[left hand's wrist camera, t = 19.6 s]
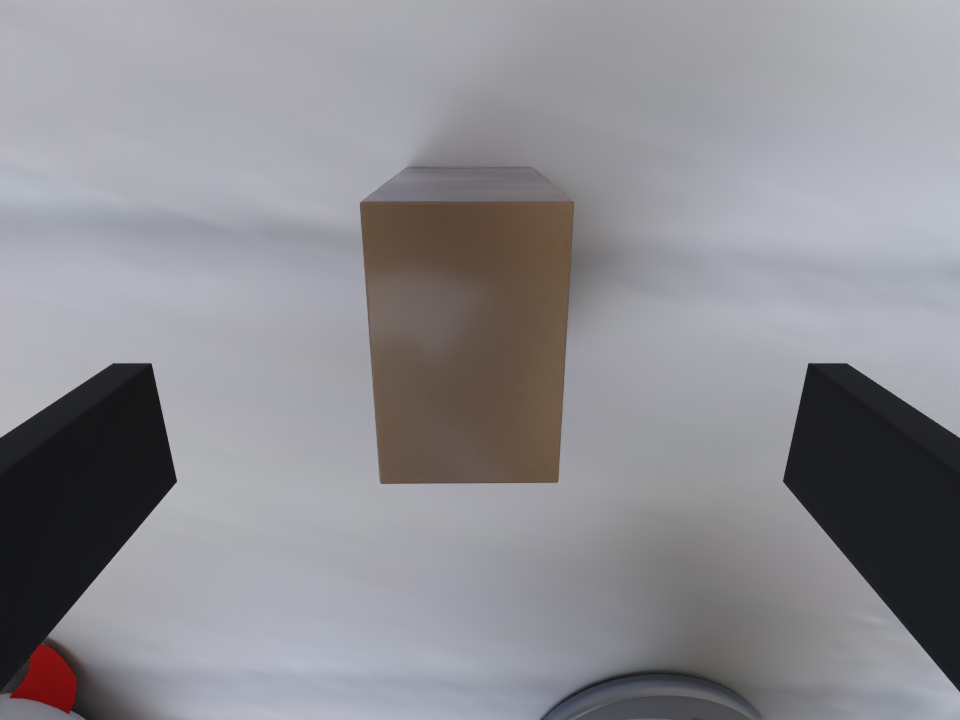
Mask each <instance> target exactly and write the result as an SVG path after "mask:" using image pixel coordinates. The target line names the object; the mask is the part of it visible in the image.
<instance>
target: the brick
mask: <svg viewBox="0 0 960 720" xmlns="http://www.w3.org/2000/svg"><path fill="white" fill-rule="evenodd" d="M360 212H361V226H362V240H363V254H364V268H365V282H366V295H367V309H368V323H369V337H370V351H371V365H372V379H373V392H374V406H375V420H376V434H377V448H378V462H379V476H380V483H381V484H419V483H557V482H558V477H559V460H560V442H561V424H562V407H563V389H564V371H565V354H566V336H567V318H568V300H569V283H570V265H571V247H572V230H573V212H574V202H573V201H572V200H571V199H569V198H568V197H567V196H566V195H565V194H563V193H562V192H561V191H560V190H559V189H557V188H556V187H555V186H554V185H552V184H551V183H550V182H549V181H548V180H546V179H545V178H544V177H543V176H542V175H540V174H539V173H538V172H537V171H535V170H534V169H533V168H531V167H482V168H405V169H404V170H403V171H401V172H400V173H399V174H397V175H396V176H395V177H393V178H392V179H391V180H389V181H388V182H387V183H385V184H384V185H383V186H381V187H380V188H379V189H377V190H376V191H375V192H373V193H372V194H371V195H369V196H368V197H367V198H365V199H364V200H363V201H361V202H360Z"/></svg>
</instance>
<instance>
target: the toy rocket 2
mask: <svg viewBox="0 0 960 720" xmlns="http://www.w3.org/2000/svg"><path fill="white" fill-rule="evenodd" d="M30 659H31V662H30V668H29V670H28V672H27V674H26V676H25V678H24V679H23V681H22V683H21V684H20V685H19V687H18V688H17V689H16V690H15V691H14V692H13V693H5V694H0V720H85V719H84V718H83V717H81V716H80V715H78V714H76V713H74V712H73V711H71V709H72V707H73V704H74V702H75V697H76V687H77V681H76V677H75V674H74V673H73V672H72V670H71V669H70V667H69V666H68V665H67V663H66V662H65V660H64V659H63V657H62V656H61V655H60V654H59V653H57V652H56V651H55V650H53V649H52V648H50V647H47V646H44V645H42V644H40V645H39V646H38V648H37V649H36V650H35V651H34V652H33V653H32V655H31V656H30Z"/></svg>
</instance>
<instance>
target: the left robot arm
mask: <svg viewBox="0 0 960 720" xmlns="http://www.w3.org/2000/svg"><path fill="white" fill-rule="evenodd" d="M176 482H177V479H176V475H175V470H174V465H173V461H172V456H171V451H170V447H169V442H168V437H167V433H166V428H165V424H164V419H163V414H162V410H161V405H160V400H159V396H158V391H157V387H156V382H155V377H154V373H153V368H152V363H113V364H112V365H110V366H109V367H107V368H106V369H104V370H103V371H101V372H99V373H98V374H96V375H95V376H93V377H92V378H90V379H89V380H87V381H86V382H84V383H83V384H81V385H80V386H78V387H77V388H75V389H74V390H72V391H71V392H69V393H68V394H66V395H65V396H63V397H62V398H60V399H59V400H57V401H56V402H54V403H53V404H51V405H50V406H48V407H47V408H45V409H44V410H42V411H40V412H39V413H37V414H36V415H34V416H33V417H31V418H30V419H28V420H27V421H25V422H24V423H22V424H21V425H19V426H18V427H16V428H15V429H13V430H12V431H10V432H9V433H7V434H6V435H4V436H3V437H1V438H0V692H1V690H2V689H3V688H4V687H5V686H6V684H7V683H8V682H9V681H10V680H11V678H12V677H13V676H14V675H15V674H16V673H17V671H18V670H19V669H20V668H21V667H22V665H23V664H24V663H25V662H26V661H27V659H28V658H29V657H30V656H31V655H32V653H33V652H34V651H35V650H36V649H37V648H38V646H39V645H40V644H41V643H42V642H43V640H44V639H45V638H46V637H47V636H48V634H49V633H50V632H51V631H52V630H53V629H54V627H55V626H56V625H57V624H58V623H59V621H60V620H61V619H62V618H63V617H64V615H65V614H66V613H67V612H68V611H69V609H70V608H71V607H72V606H73V605H74V604H75V602H76V601H77V600H78V599H79V598H80V596H81V595H82V594H83V593H84V592H85V590H86V589H87V588H88V587H89V586H90V584H91V583H92V582H93V581H94V580H95V579H96V577H97V576H98V575H99V574H100V573H101V571H102V570H103V569H104V568H105V567H106V565H107V564H108V563H109V562H110V561H111V559H112V558H113V557H114V556H115V555H116V554H117V552H118V551H119V550H120V549H121V548H122V546H123V545H124V544H125V543H126V542H127V540H128V539H129V538H130V537H131V536H132V535H133V533H134V532H135V531H136V530H137V529H138V527H139V526H140V525H141V524H142V523H143V521H144V520H145V519H146V518H147V517H148V515H149V514H150V513H151V512H152V511H153V510H154V508H155V507H156V506H157V505H158V504H159V502H160V501H161V500H162V499H163V498H164V496H165V495H166V494H167V493H168V492H169V490H170V489H171V488H172V487H173V486H174V485H175V483H176ZM783 482H784V483H785V485H786V486H787V487H788V488H789V489H790V490H791V492H792V493H793V494H794V495H795V496H796V498H797V499H798V500H799V501H800V502H801V504H802V505H803V506H804V507H805V508H806V510H807V511H808V512H809V513H810V514H811V515H812V517H813V518H814V519H815V520H816V521H817V523H818V524H819V525H820V526H821V527H822V529H823V530H824V531H825V532H826V533H827V535H828V536H829V537H830V538H831V539H832V540H833V542H834V543H835V544H836V545H837V546H838V548H839V549H840V550H841V551H842V552H843V554H844V555H845V556H846V557H847V558H848V559H849V561H850V562H851V563H852V564H853V565H854V567H855V568H856V569H857V570H858V571H859V573H860V574H861V575H862V576H863V577H864V579H865V580H866V581H867V582H868V583H869V584H870V586H871V587H872V588H873V589H874V590H875V592H876V593H877V594H878V595H879V596H880V598H881V599H882V600H883V601H884V602H885V604H886V605H887V606H888V607H889V608H890V609H891V611H892V612H893V613H894V614H895V615H896V617H897V618H898V619H899V620H900V621H901V623H902V624H903V625H904V626H905V627H906V629H907V630H908V631H909V632H910V633H911V634H912V636H913V637H914V638H915V639H916V640H917V642H918V643H919V644H920V645H921V646H922V648H923V649H924V650H925V651H926V652H927V653H928V655H929V656H930V657H931V658H932V659H933V661H934V662H935V663H936V664H937V665H938V667H939V668H940V669H941V670H942V671H943V673H944V674H945V675H946V676H947V677H948V678H949V680H950V681H951V682H952V683H953V684H954V686H955V687H956V688H957V689H958V690H959V692H960V438H959V437H957V436H956V435H954V434H953V433H951V432H950V431H948V430H947V429H945V428H944V427H942V426H941V425H939V424H938V423H936V422H935V421H933V420H932V419H930V418H929V417H927V416H926V415H924V414H923V413H921V412H920V411H918V410H916V409H915V408H913V407H912V406H910V405H909V404H907V403H906V402H904V401H903V400H901V399H900V398H898V397H897V396H895V395H894V394H892V393H891V392H889V391H888V390H886V389H885V388H883V387H882V386H880V385H879V384H877V383H876V382H874V381H873V380H871V379H870V378H868V377H867V376H865V375H864V374H862V373H861V372H859V371H857V370H856V369H854V368H853V367H851V366H850V365H848V364H847V363H808V368H807V373H806V377H805V382H804V387H803V391H802V396H801V400H800V405H799V410H798V414H797V419H796V424H795V428H794V433H793V437H792V442H791V447H790V451H789V456H788V461H787V465H786V470H785V475H784V479H783Z"/></svg>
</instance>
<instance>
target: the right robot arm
mask: <svg viewBox="0 0 960 720" xmlns="http://www.w3.org/2000/svg"><path fill="white" fill-rule="evenodd" d="M543 720H762V719H761V717H760V716H759V714H758V713H757V712H756V711H755V709H754V708H753V707H752V706H751V705H750V704H749V703H748V702H747V701H745V700H744V699H743V698H742V697H740V696H739V695H737V694H736V693H734V692H732V691H730V690H729V689H727V688H725V687H723V686H720V685H718V684H716V683H713V682H709V681H706V680H703V679H699V678H695V677H689V676H683V675H672V674H648V675H638V676H630V677H625V678H620V679H616V680H612V681H608V682H605V683H602V684H599V685H596V686H594V687H591V688H589V689H587V690H584V691H582V692H580V693H578V694H576V695H574V696H573V697H571V698H569V699H568V700H566V701H565V702H563V703H562V704H560V705H559V706H557V707H556V708H555V709H554V710H552V711H551V712H550V713H549V714H548V715H547V716H546V717H545V718H544V719H543Z"/></svg>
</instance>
